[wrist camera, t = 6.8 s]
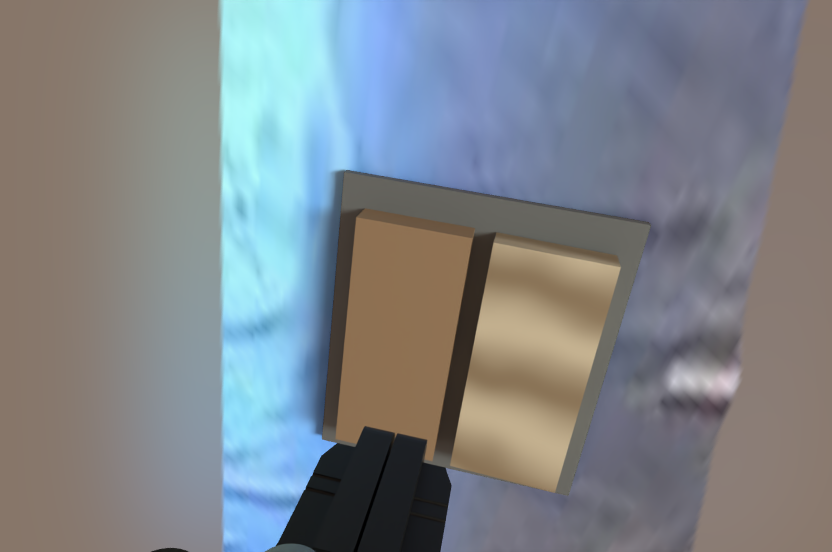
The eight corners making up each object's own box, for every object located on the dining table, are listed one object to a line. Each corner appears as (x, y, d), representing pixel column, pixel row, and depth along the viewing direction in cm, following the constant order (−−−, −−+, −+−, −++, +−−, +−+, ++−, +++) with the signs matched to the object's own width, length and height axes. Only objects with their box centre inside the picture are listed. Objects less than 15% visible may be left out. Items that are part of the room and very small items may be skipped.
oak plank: (496, 232, 34) (493, 242, 32) (617, 255, 33) (620, 267, 31) (454, 447, 40) (450, 465, 38) (554, 472, 39) (554, 492, 37)
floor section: (347, 170, 35) (333, 179, 33) (649, 222, 33) (658, 235, 30) (324, 434, 43) (312, 457, 40) (567, 489, 41) (570, 517, 38)
